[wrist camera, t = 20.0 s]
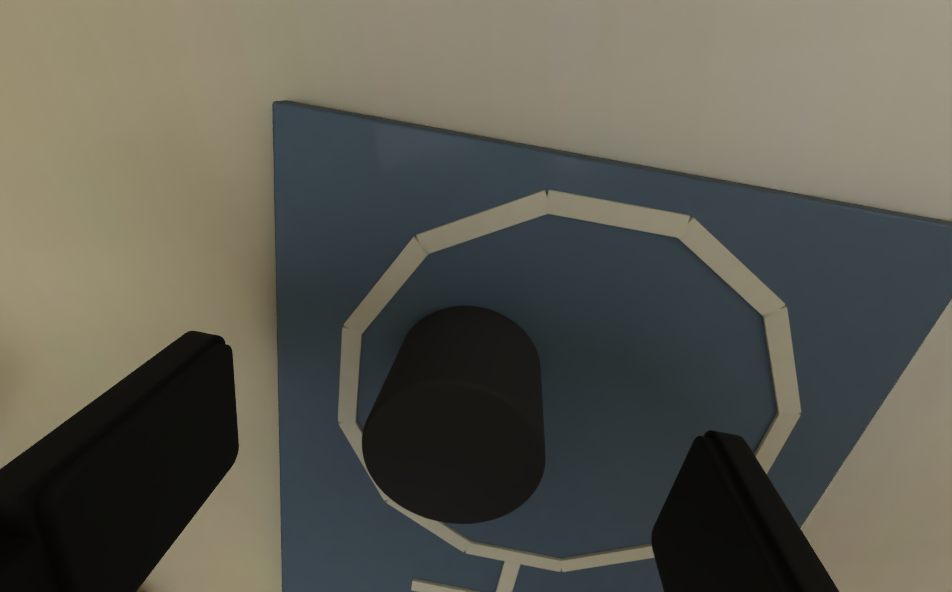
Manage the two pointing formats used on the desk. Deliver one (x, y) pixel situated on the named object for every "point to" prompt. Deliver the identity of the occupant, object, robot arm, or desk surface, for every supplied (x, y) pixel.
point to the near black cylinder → (459, 419)
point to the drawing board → (571, 339)
